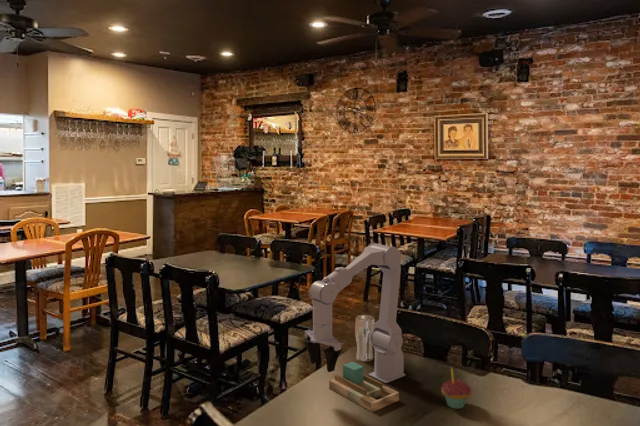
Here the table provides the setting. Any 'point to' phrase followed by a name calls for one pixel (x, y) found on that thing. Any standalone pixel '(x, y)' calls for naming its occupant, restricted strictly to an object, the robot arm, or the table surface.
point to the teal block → (353, 372)
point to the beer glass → (364, 337)
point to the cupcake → (455, 392)
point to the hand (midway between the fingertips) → (322, 366)
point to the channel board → (365, 392)
